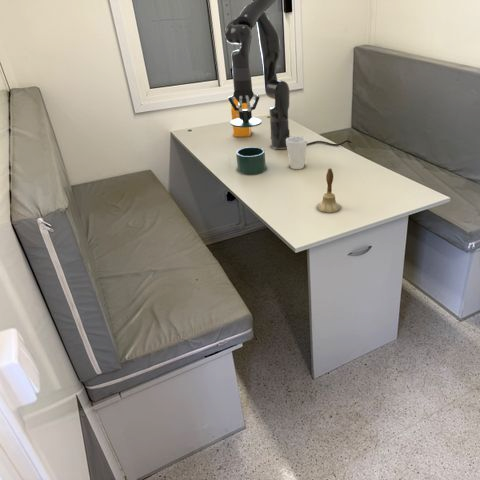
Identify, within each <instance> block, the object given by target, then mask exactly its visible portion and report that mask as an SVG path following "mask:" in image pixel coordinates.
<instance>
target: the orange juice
mask: <svg viewBox="0 0 480 480" xmlns="http://www.w3.org/2000/svg"><path fill="white" fill-rule="evenodd" d="M234 103H235V105H236V106H237V107H239V102H238V101H237V100H236V98H235V97H234ZM230 106H231V110H230V111H231V121H232V120H234V119H237V118H240V117H239V111H237V110H234V108H233V106H232V105H231V104H230ZM243 109H247V110H248V106H247V103H242V110H243ZM232 129H233V131H232V132H233V137H251V135H252V131H253V130H252V127H246V128H244V127H235V126H232Z"/></svg>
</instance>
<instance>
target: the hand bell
mask: <svg viewBox="0 0 480 480" xmlns="http://www.w3.org/2000/svg"><path fill="white" fill-rule="evenodd" d="M325 177H326V179H325V180H326V185H327V187H326V192H325V193H323V196H322V199H321V202H320V203H319V204H318V206H317V209H318V210H319V211H321V212H322V213H328V214H329V213H336V212H338V211H339V210H340V205H339V204H338V202H337V200H336V194H335V193H333V192H332V185H333V181H334V173H333V169H332V168H328V169H327V172H326V176H325Z"/></svg>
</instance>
